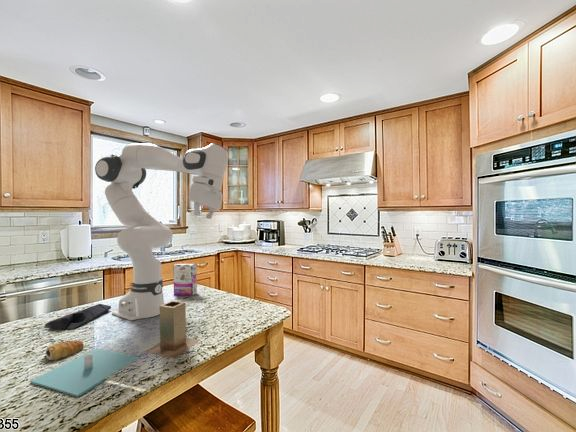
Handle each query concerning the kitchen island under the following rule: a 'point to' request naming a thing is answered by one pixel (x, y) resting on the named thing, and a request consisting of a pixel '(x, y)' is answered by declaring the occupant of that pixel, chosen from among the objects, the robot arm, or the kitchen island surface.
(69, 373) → the teal hub plate
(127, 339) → the kitchen island surface
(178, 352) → the walnut stand
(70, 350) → the pastry
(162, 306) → the bronze sleeve
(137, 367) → the kitchen island surface
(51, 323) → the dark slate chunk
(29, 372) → the kitchen island surface
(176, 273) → the candy bar box
